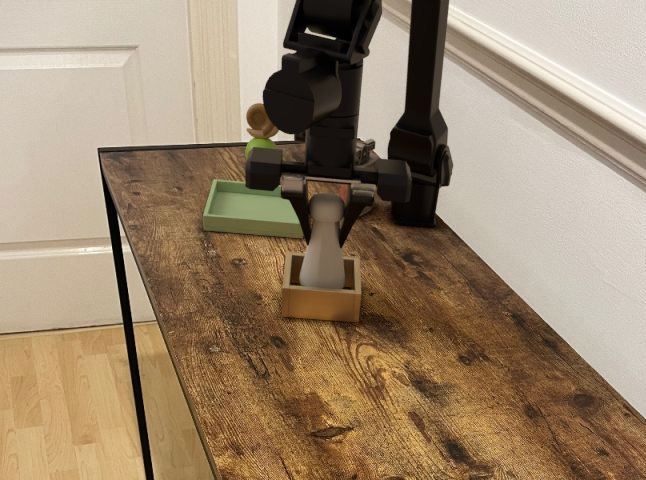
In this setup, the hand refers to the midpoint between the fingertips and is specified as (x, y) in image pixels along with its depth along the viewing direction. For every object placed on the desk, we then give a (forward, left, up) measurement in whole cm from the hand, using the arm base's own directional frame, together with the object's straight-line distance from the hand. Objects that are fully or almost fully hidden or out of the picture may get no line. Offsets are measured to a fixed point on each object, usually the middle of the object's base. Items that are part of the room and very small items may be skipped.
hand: (324, 245), depth 95 cm
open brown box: (0, 0, -8) cm, 8 cm away
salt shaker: (0, 0, -7) cm, 7 cm away
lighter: (-5, -29, -8) cm, 30 cm away
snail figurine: (+10, -41, -8) cm, 43 cm away
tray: (+10, -24, -8) cm, 27 cm away
